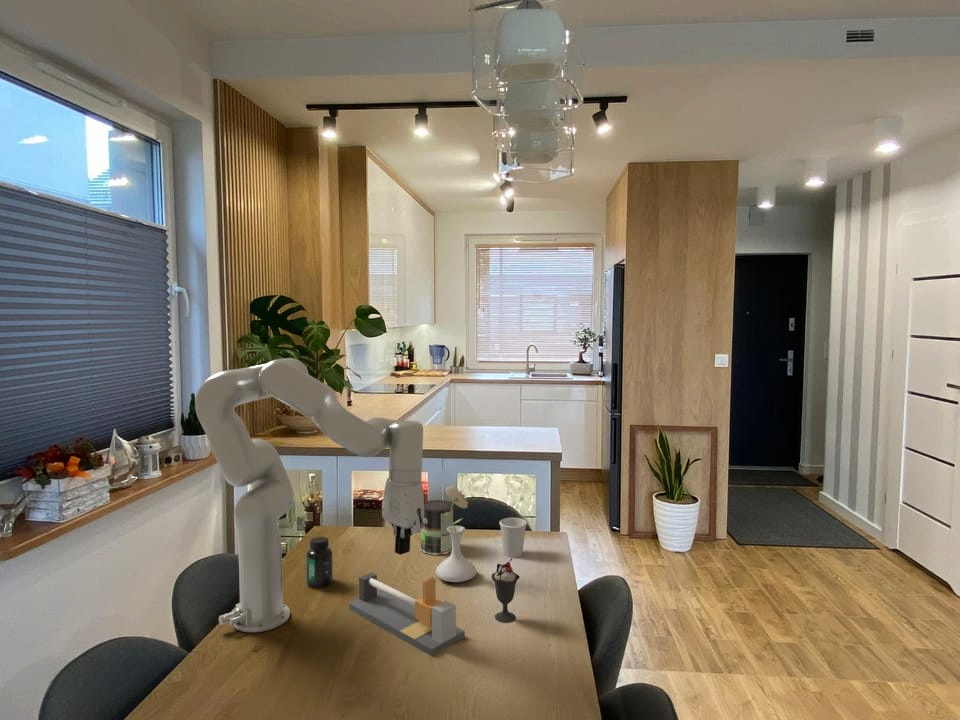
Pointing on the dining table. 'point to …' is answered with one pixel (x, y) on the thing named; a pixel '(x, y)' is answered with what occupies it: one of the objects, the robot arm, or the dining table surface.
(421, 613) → the orange l-shaped block
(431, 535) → the coffee can
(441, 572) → the flower in vase
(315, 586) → the supplement bottle
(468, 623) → the dining table surface
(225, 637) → the dining table surface
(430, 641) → the grey slider rail toy
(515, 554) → the dixie cup
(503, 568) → the sundae
